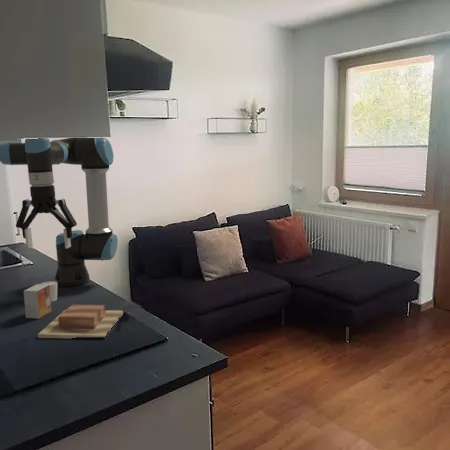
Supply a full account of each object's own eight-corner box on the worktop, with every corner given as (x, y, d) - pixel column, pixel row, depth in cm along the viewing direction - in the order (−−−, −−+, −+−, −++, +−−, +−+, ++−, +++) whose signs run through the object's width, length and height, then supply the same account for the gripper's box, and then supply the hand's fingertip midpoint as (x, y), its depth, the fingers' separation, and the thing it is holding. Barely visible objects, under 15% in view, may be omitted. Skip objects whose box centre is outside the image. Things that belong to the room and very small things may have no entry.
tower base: (65, 312, 168) (64, 299, 167) (123, 313, 167) (122, 300, 166) (37, 337, 146) (36, 322, 145) (104, 339, 145) (103, 323, 144)
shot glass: (36, 301, 180) (35, 285, 179) (48, 296, 187) (47, 280, 185) (51, 303, 178) (50, 286, 177) (62, 297, 185) (61, 281, 183)
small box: (39, 319, 162) (36, 291, 160) (25, 318, 163) (22, 290, 161) (52, 311, 170) (49, 284, 168) (38, 310, 171) (36, 283, 169)
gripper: (-1, 187, 146) (7, 250, 150) (73, 185, 143) (79, 250, 148) (12, 184, 153) (19, 244, 157) (83, 183, 151) (88, 244, 155)
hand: (48, 247), depth 152 cm, fingers open, 13 cm apart
